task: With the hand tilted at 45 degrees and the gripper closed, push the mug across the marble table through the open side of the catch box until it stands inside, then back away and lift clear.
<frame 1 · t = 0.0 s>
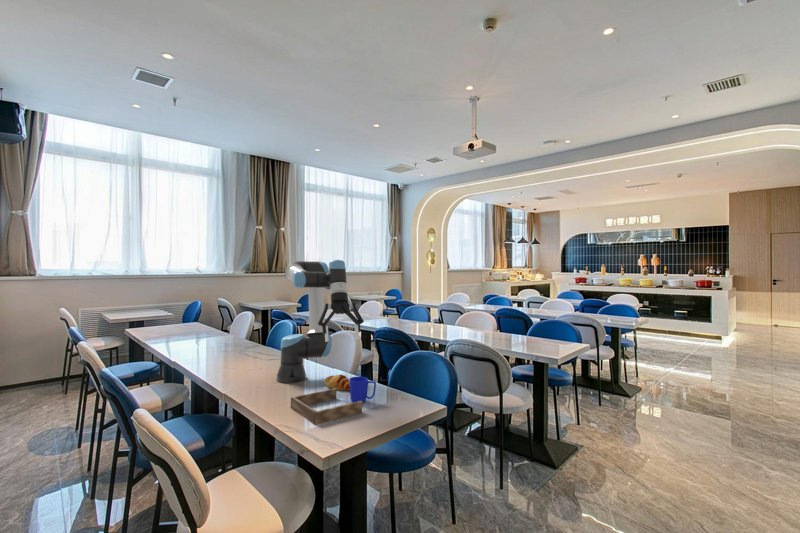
hand: (342, 340, 165), 28 cm above the table, tool tilted 20°, fingers open, 13 cm apart
croissant: (338, 387, 191), on the table
catch box: (327, 409, 158), on the table
mug: (362, 402, 170), on the table
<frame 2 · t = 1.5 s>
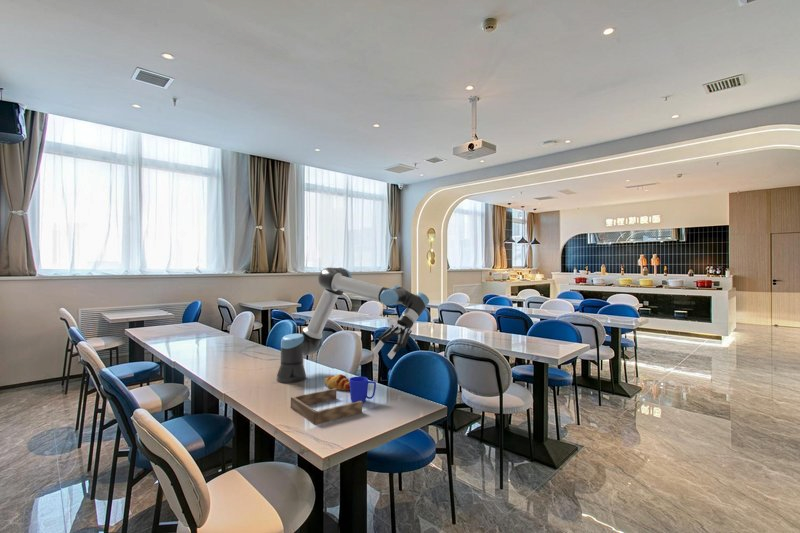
hand: (381, 355, 176), 19 cm above the table, tool tilted 45°, fingers open, 11 cm apart
nothing on the table moved.
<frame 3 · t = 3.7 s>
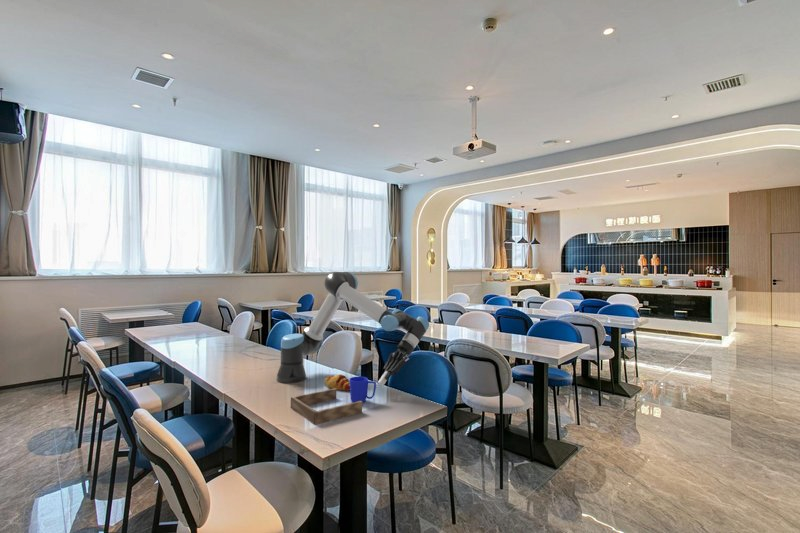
hand: (380, 384, 175), 6 cm above the table, tool tilted 45°, fingers closed
nothing on the table moved.
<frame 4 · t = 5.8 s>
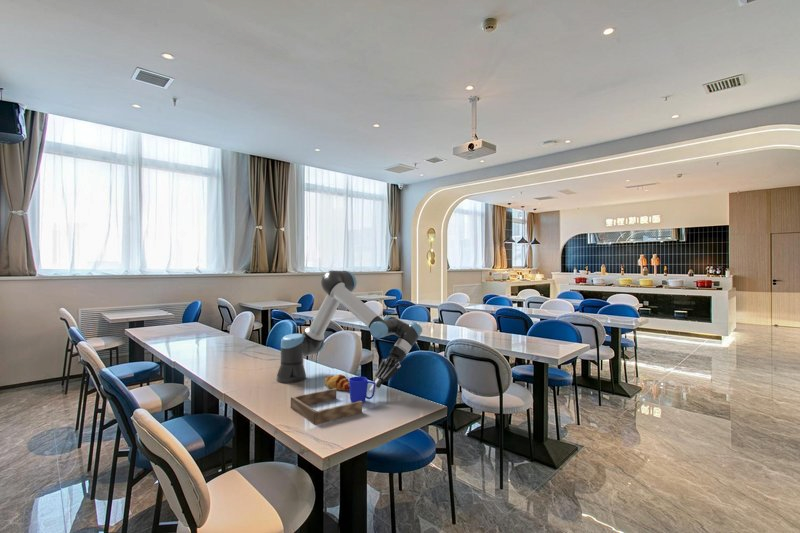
hand: (371, 392, 171), 4 cm above the table, tool tilted 45°, fingers closed
mug: (362, 402, 169), on the table, touching gripper
everything else where it was.
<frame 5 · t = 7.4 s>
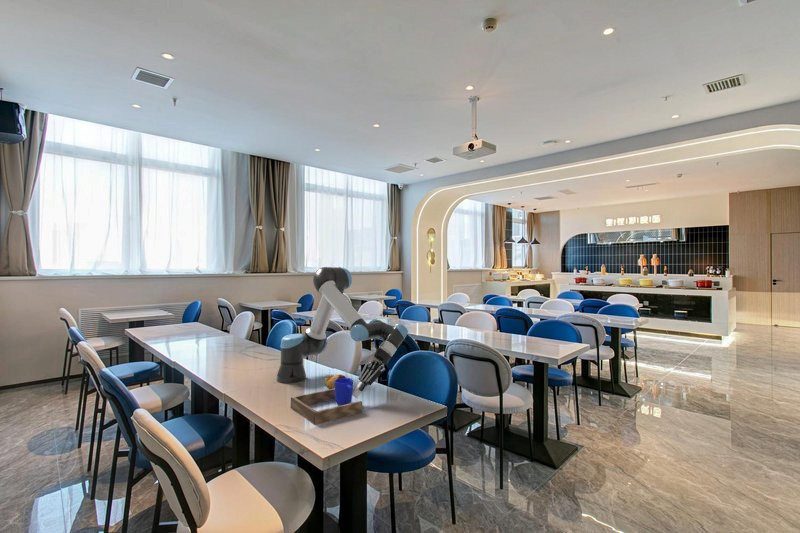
hand: (354, 396, 165), 4 cm above the table, tool tilted 45°, fingers closed
mug: (345, 405, 165), on the table, touching gripper
everything else where it was.
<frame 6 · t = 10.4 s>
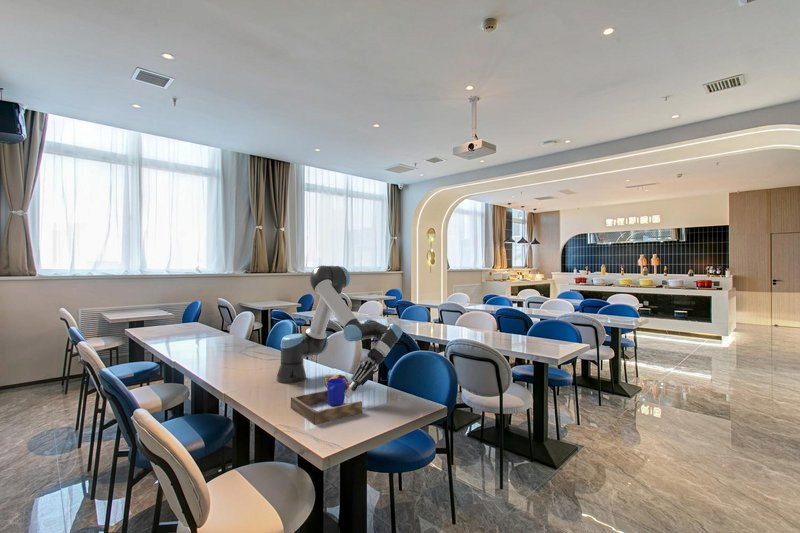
hand: (346, 395, 164), 4 cm above the table, tool tilted 45°, fingers closed
mug: (334, 406, 164), on the table
everything else where it was.
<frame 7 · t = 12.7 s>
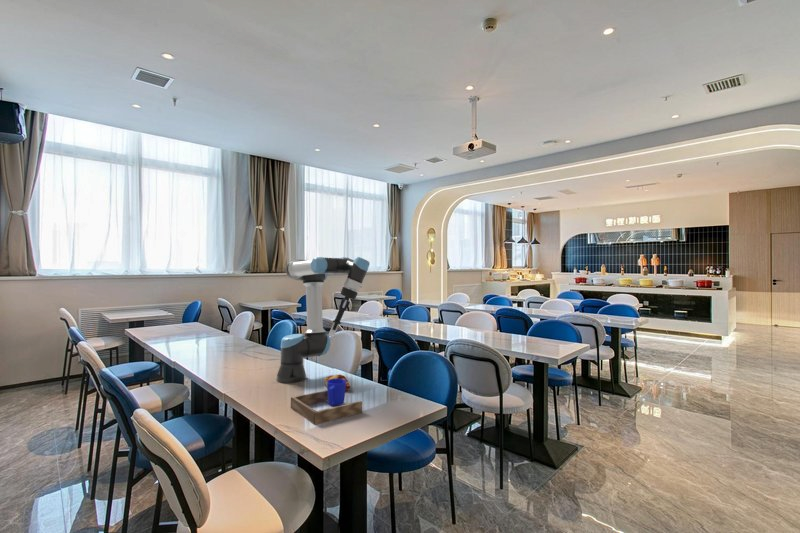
hand: (331, 336, 177), 28 cm above the table, tool tilted 20°, fingers closed
nothing on the table moved.
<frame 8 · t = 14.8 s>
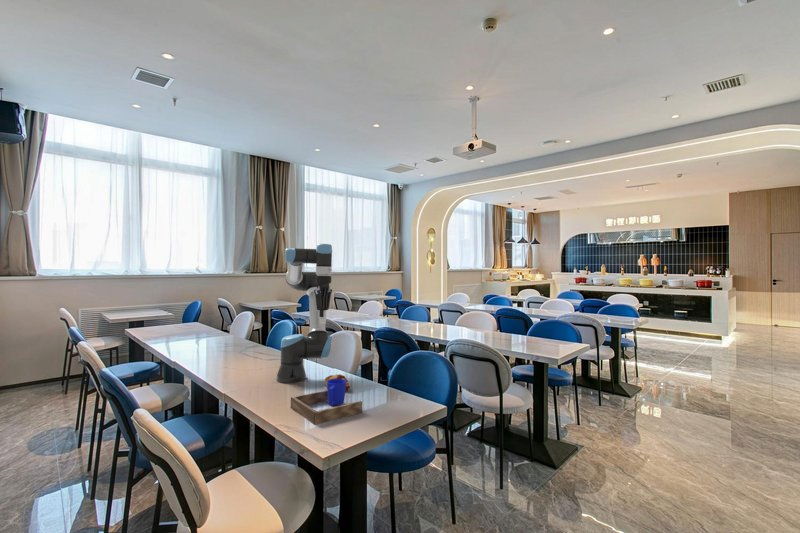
hand: (322, 323, 186), 32 cm above the table, tool pointing down, fingers closed
nothing on the table moved.
at the end: mug 5.8 cm from the catch box (horizontally); mug tilted 0° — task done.
